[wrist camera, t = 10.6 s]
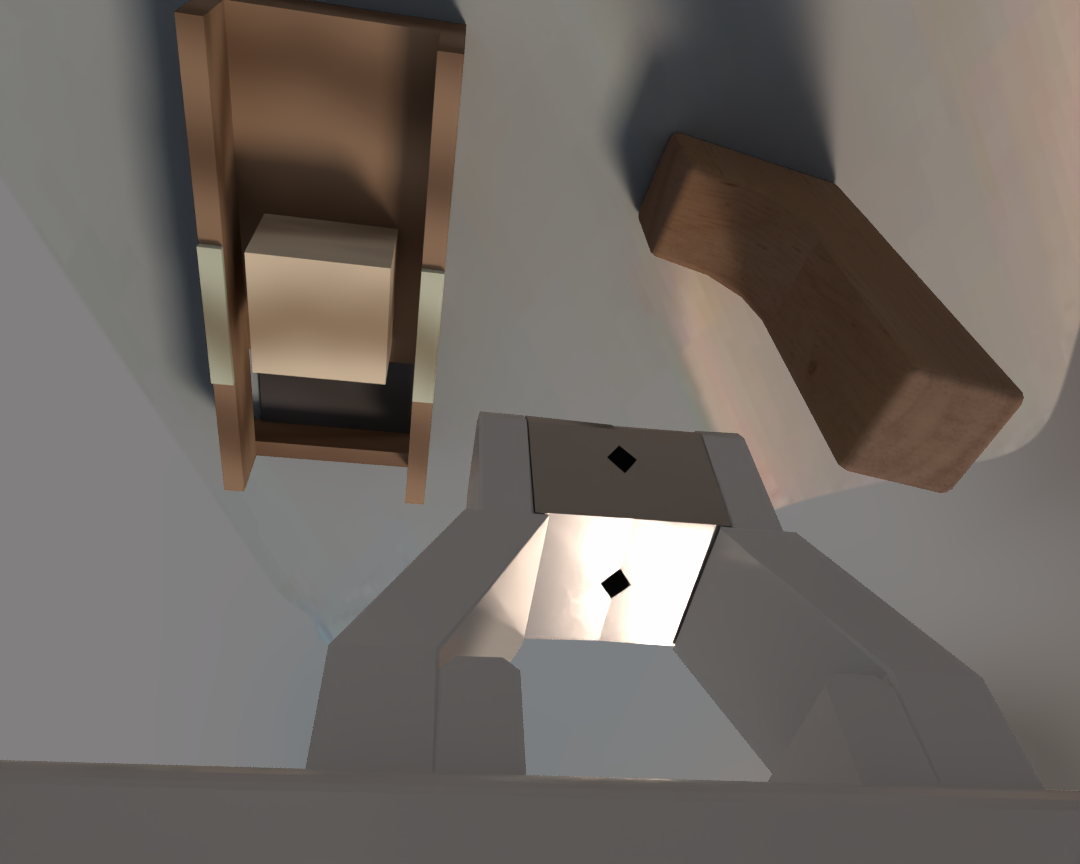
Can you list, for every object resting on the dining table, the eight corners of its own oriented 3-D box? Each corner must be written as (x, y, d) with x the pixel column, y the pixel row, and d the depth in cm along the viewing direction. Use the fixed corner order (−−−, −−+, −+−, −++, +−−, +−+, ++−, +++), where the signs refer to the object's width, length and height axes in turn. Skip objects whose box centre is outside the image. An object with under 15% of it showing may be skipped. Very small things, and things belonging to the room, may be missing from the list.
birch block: (264, 213, 38) (244, 252, 34) (398, 229, 38) (390, 268, 35) (270, 327, 41) (252, 372, 38) (392, 339, 42) (385, 384, 39)
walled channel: (210, -15, 34) (171, 13, 29) (466, 24, 35) (464, 56, 31) (245, 431, 47) (222, 493, 43) (428, 446, 49) (423, 508, 45)
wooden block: (634, 216, 41) (715, 444, 27) (671, 127, 38) (783, 327, 24) (794, 264, 43) (949, 499, 29) (839, 183, 40) (1034, 398, 26)
